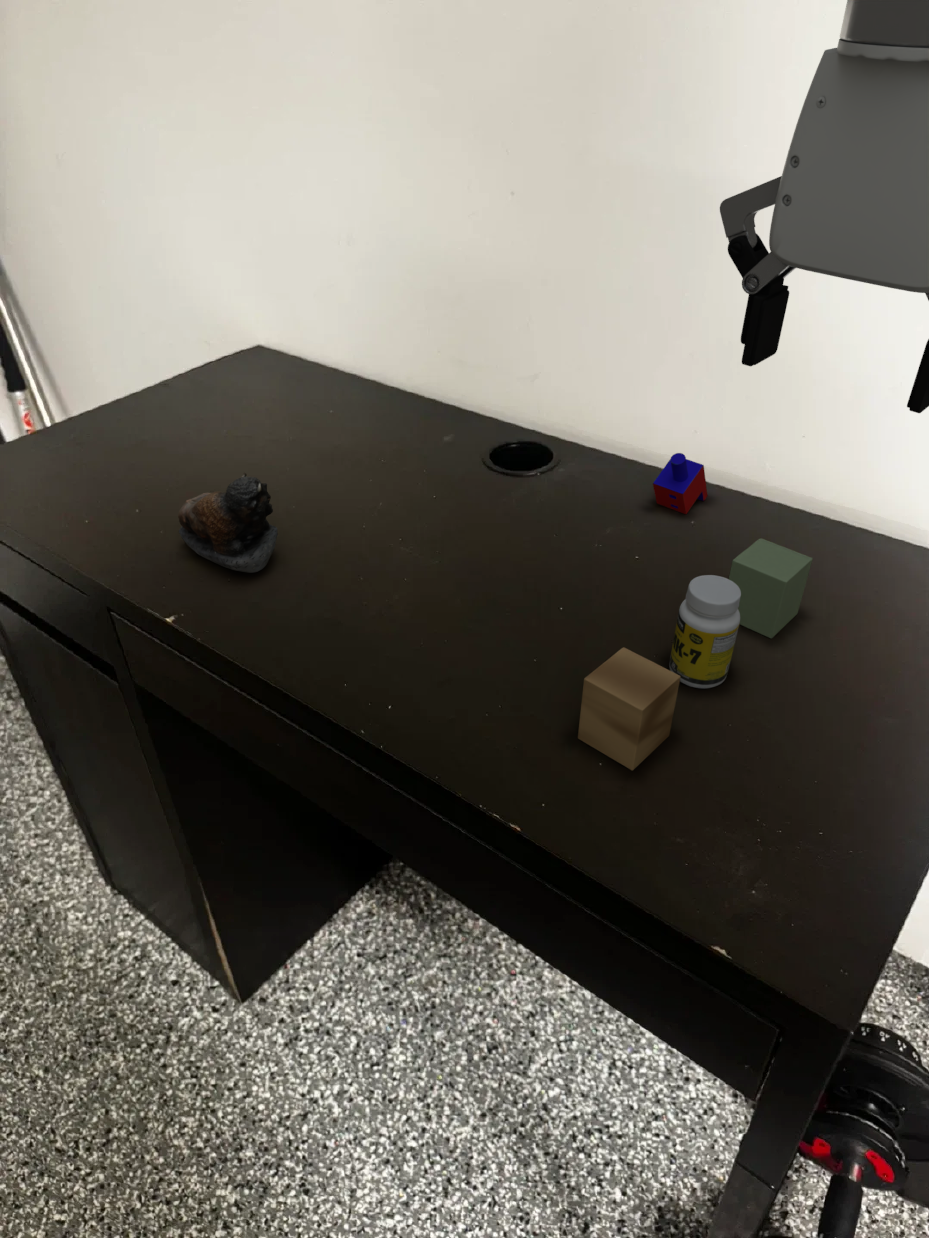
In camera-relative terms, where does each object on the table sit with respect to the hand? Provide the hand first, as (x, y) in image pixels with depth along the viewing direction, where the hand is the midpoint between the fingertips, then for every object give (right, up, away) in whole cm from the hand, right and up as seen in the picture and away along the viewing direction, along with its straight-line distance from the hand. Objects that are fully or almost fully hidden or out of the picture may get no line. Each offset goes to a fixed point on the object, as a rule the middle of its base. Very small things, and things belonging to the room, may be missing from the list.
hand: (836, 381), depth 51 cm
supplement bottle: (-2, -18, +23) cm, 30 cm away
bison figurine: (-44, -8, +37) cm, 58 cm away
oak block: (-9, -23, +17) cm, 30 cm away
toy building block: (+2, -1, +46) cm, 46 cm away
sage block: (+5, -13, +30) cm, 33 cm away
